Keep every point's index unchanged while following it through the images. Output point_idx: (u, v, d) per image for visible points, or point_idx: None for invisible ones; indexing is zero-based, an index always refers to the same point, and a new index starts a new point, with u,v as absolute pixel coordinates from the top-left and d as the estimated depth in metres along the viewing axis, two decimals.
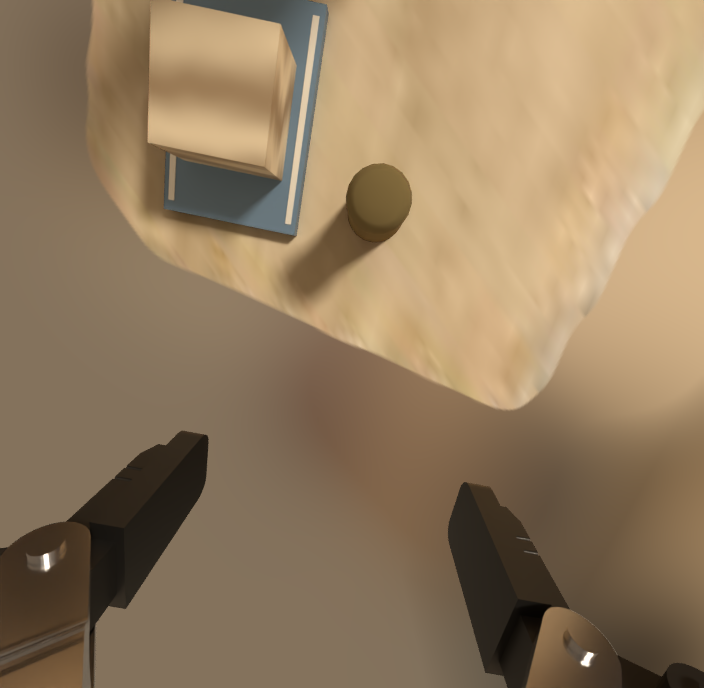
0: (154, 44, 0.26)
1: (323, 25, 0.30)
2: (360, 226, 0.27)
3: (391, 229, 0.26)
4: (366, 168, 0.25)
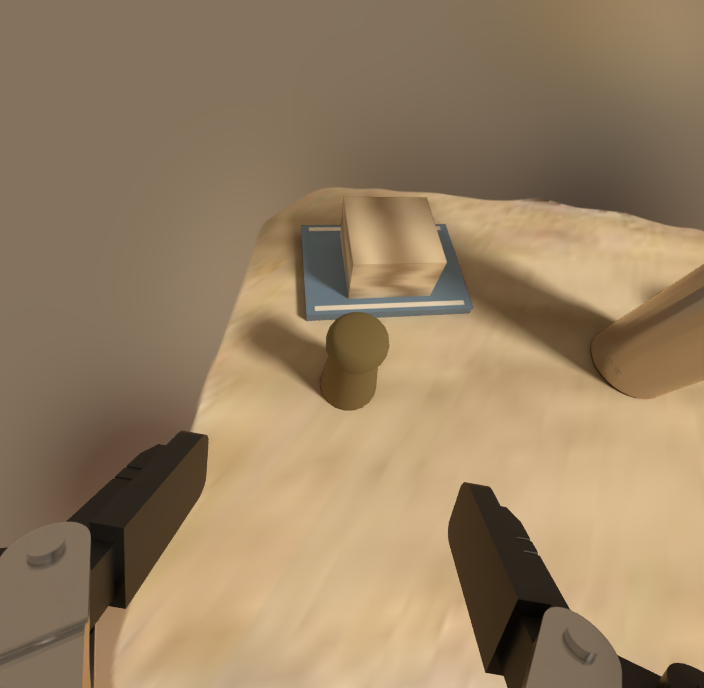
0: (402, 199, 0.39)
1: (460, 308, 0.40)
2: (329, 329, 0.27)
3: (335, 356, 0.26)
4: None
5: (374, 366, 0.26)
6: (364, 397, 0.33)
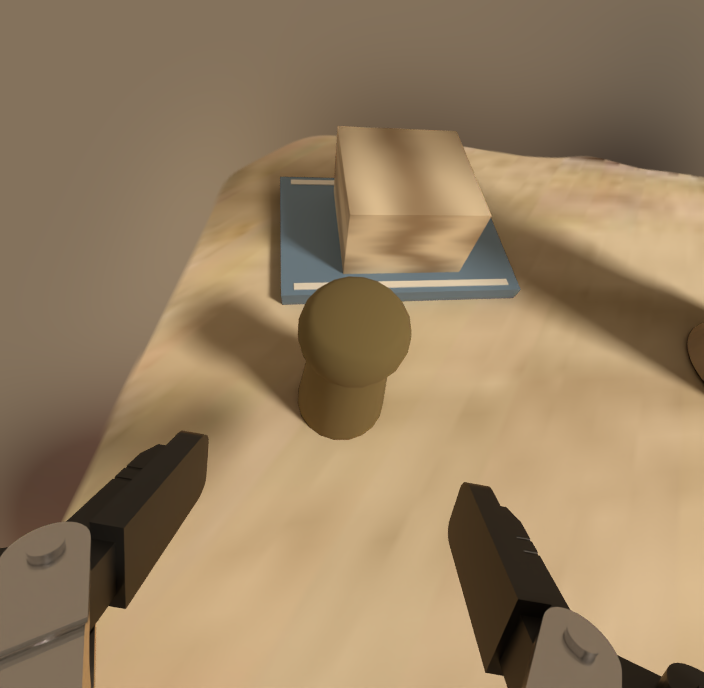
0: (422, 132, 0.27)
1: (503, 290, 0.28)
2: (304, 306, 0.15)
3: (312, 355, 0.14)
4: (393, 292, 0.15)
5: (385, 374, 0.14)
6: (365, 421, 0.21)
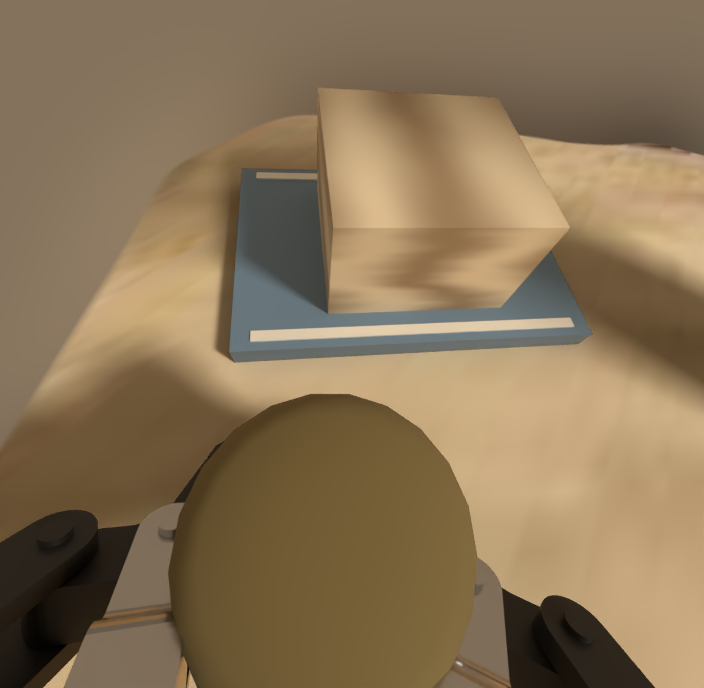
0: (447, 98, 0.18)
1: (567, 334, 0.19)
2: None
3: None
4: (425, 438, 0.06)
5: None
6: None
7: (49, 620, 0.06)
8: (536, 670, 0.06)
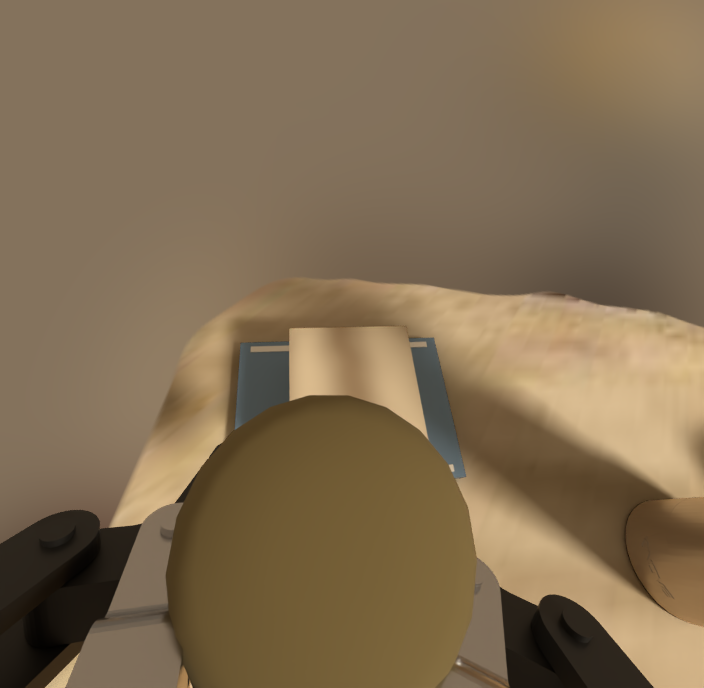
0: (372, 330, 0.28)
1: None
2: None
3: None
4: (424, 439, 0.06)
5: None
6: None
7: (51, 620, 0.06)
8: (534, 669, 0.06)
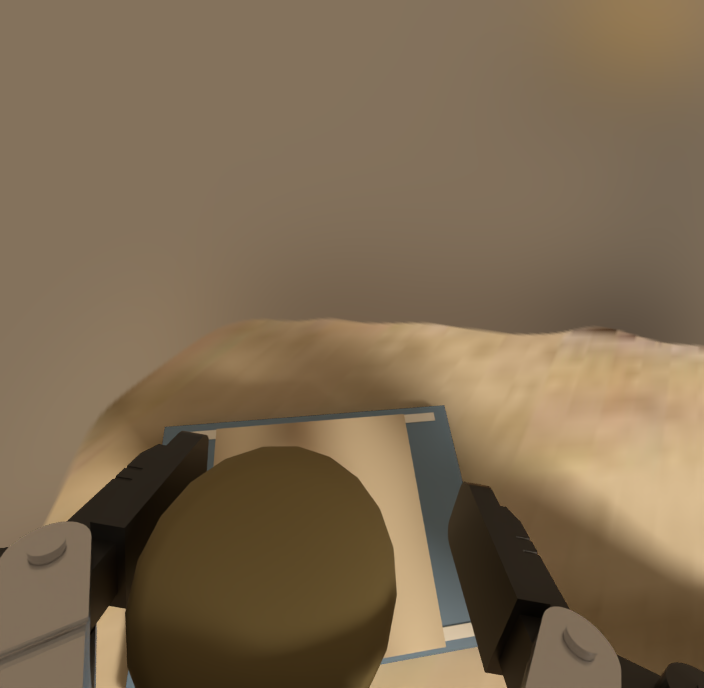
0: (350, 425, 0.18)
1: (475, 644, 0.19)
2: (153, 533, 0.07)
3: None
4: (357, 490, 0.07)
5: None
6: None
7: None
8: None
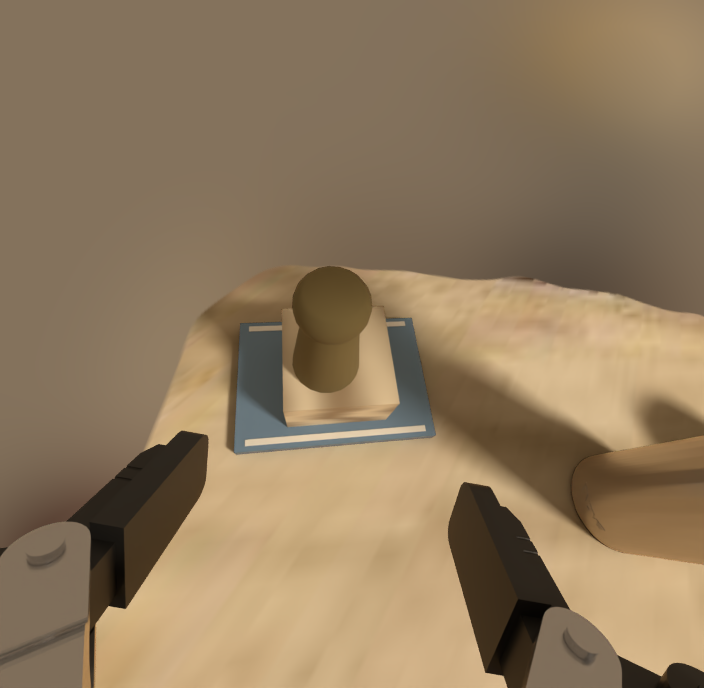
0: None
1: (421, 435, 0.34)
2: None
3: (302, 320, 0.20)
4: None
5: (352, 334, 0.21)
6: (343, 377, 0.27)
7: None
8: None
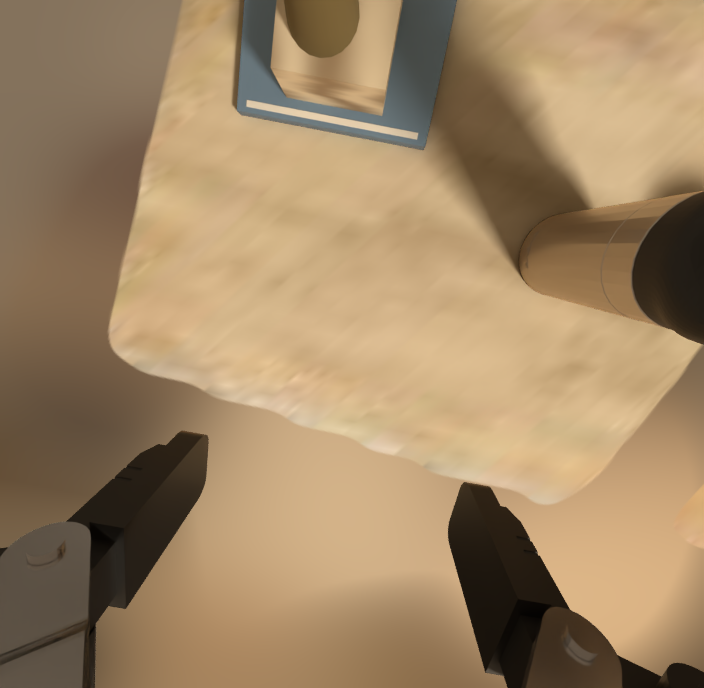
0: None
1: (411, 143, 0.35)
2: None
3: None
4: None
5: None
6: (329, 36, 0.26)
7: None
8: None
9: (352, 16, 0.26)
